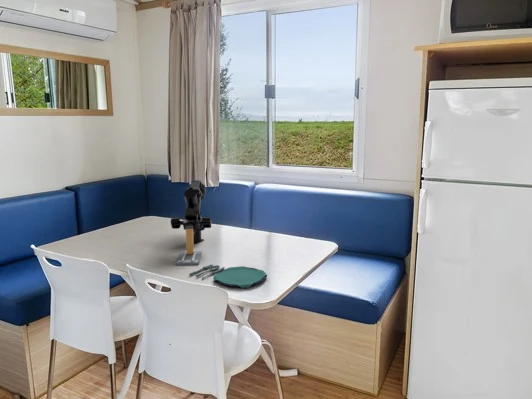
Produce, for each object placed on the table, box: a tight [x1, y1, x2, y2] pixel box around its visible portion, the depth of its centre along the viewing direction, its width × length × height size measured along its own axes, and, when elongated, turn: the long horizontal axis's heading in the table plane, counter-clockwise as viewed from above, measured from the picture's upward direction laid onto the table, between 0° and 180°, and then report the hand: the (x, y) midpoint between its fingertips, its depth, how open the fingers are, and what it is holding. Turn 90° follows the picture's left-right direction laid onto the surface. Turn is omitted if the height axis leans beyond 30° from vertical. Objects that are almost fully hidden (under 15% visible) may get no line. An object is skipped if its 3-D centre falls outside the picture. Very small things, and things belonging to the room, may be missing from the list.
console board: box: [175, 249, 203, 266], centre depth 186 cm, size 16×10×2 cm, turn 4°
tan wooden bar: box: [185, 226, 195, 254], centre depth 189 cm, size 2×3×13 cm
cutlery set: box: [188, 264, 268, 289], centre depth 165 cm, size 20×30×2 cm, turn 59°
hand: (190, 238), depth 191 cm, fingers closed
